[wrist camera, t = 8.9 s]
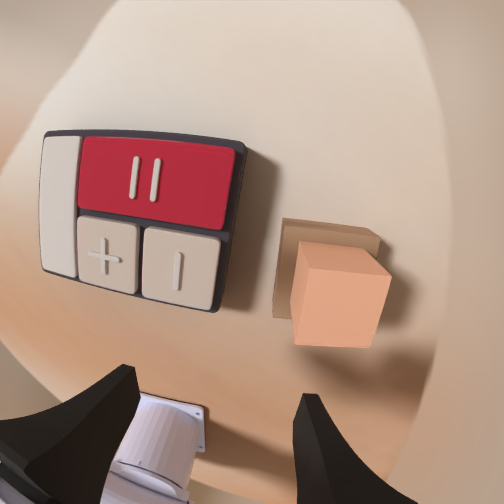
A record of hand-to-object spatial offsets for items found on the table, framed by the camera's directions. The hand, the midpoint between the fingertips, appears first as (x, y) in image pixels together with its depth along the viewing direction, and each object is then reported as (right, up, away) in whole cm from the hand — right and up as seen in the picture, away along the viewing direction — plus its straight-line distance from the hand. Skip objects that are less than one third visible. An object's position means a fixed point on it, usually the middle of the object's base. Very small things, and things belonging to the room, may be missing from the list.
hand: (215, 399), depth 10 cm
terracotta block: (+6, +5, +6) cm, 10 cm away
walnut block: (+6, +5, +9) cm, 12 cm away
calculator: (-7, +10, +9) cm, 15 cm away
